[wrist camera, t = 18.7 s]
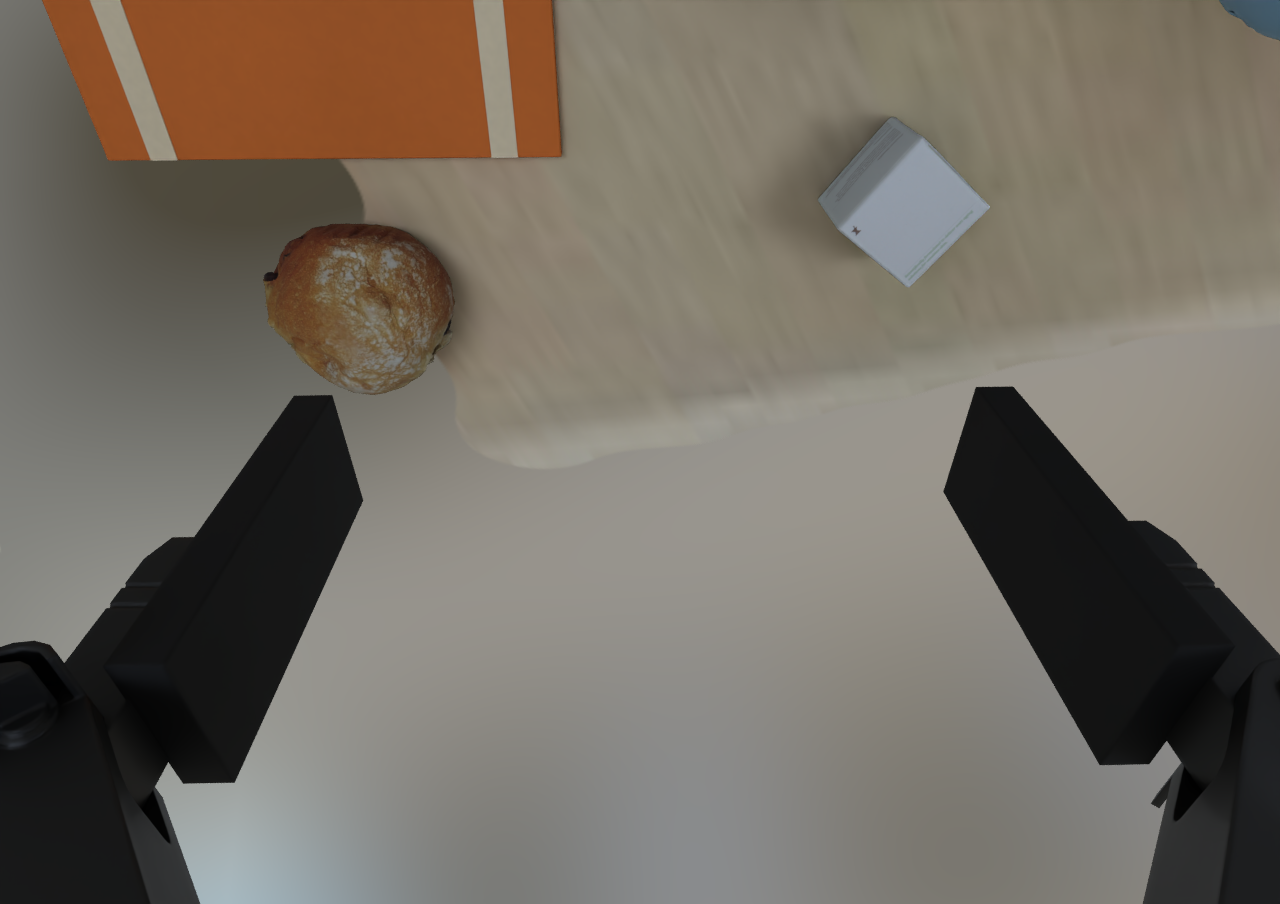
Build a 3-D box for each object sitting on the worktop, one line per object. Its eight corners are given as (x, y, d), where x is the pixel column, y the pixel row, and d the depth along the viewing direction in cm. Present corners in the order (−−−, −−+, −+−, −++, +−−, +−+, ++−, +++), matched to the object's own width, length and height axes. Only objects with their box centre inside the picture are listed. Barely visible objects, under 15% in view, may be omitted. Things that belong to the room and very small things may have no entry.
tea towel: (-5, -129, 32) (-14, -130, 31) (543, -130, 32) (542, -131, 32) (113, 158, 39) (107, 161, 38) (561, 154, 39) (561, 157, 39)
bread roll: (424, 353, 50) (454, 424, 45) (256, 345, 44) (268, 424, 39) (450, 217, 44) (488, 280, 39) (262, 188, 39) (277, 257, 34)
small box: (881, 258, 43) (908, 292, 39) (813, 199, 41) (834, 228, 37) (959, 179, 40) (996, 206, 36) (890, 111, 38) (922, 132, 34)
